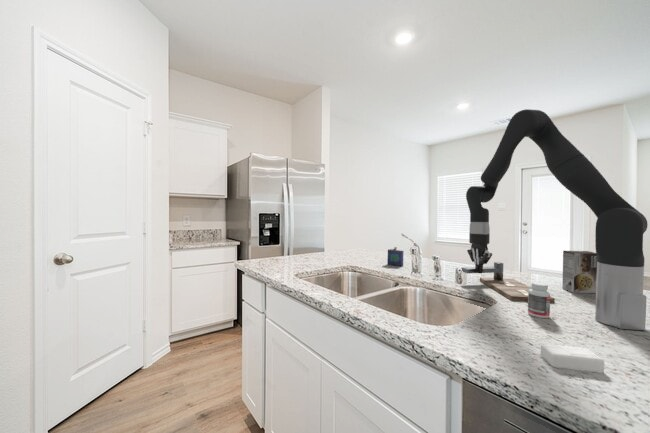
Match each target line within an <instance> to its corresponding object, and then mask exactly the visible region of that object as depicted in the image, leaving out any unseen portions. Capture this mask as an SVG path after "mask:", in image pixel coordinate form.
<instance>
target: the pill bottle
mask: <svg viewBox="0 0 650 433" xmlns="http://www.w3.org/2000/svg"><path fill="white" fill-rule="evenodd" d="M530 285H531V286H530V287H531V288H532V289H530V290H529V291H528V301H527V313H528V315H530V316H532V317H536V318H542V319H548V318H550V316H551V315H550V314H551V302H550V297H551V293H550V292H549V291H548V288H549V285H548V284H546V283H543V282H538V281H537V282H535V281H534V282H531V284H530Z"/></svg>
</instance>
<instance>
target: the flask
mask: <svg viewBox="0 0 650 433" xmlns="http://www.w3.org/2000/svg"><path fill="white" fill-rule="evenodd" d="M386 261H387V265H388V266H394V267H395V266H396V267H404V250H402V249H401V250H400V249H398V247H397V246H394V248H390V249H387V259H386Z"/></svg>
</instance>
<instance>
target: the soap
mask: <svg viewBox="0 0 650 433" xmlns="http://www.w3.org/2000/svg"><path fill="white" fill-rule="evenodd" d="M540 355H541V357H542V358H543V359H544V360H545V361H546V362H547V363H548V364H550V365H551V367H554V368H558V369H564V370H575V371H582V372H590V373H591V372H592V373H599V374H603V373H604V371H605V360H604V359H602V357H600V356H598V355H597V354H596V353H594V352H592V351H591V350H590V349H588V348H585V347H579V346H570V345H559V344H558V345H557V344H552V343H551V344H550V343H549V344H548V343H541V344H540Z"/></svg>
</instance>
